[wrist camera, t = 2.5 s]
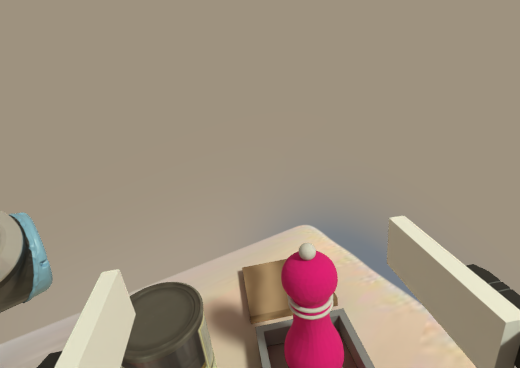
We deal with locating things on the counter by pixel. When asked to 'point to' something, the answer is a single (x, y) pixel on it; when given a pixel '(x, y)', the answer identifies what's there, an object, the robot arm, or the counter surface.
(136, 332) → the coffee can
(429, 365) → the counter surface
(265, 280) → the board
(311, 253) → the pepper mill
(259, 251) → the counter surface
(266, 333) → the holder
